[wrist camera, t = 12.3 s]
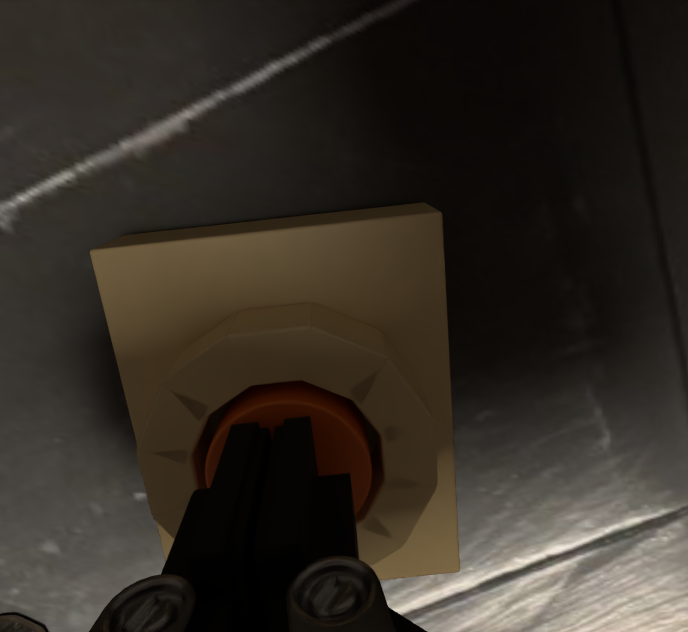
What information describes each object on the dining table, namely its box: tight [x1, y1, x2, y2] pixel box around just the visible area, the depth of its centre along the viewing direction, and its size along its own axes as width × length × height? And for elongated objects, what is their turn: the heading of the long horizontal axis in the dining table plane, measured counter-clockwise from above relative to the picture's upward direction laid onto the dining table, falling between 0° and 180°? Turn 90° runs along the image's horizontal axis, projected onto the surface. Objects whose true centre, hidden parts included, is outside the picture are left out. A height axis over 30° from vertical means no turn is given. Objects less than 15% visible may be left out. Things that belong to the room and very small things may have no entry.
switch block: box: [90, 203, 460, 580], centre depth 14 cm, size 10×8×4 cm
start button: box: [205, 380, 372, 516], centre depth 13 cm, size 4×4×2 cm
